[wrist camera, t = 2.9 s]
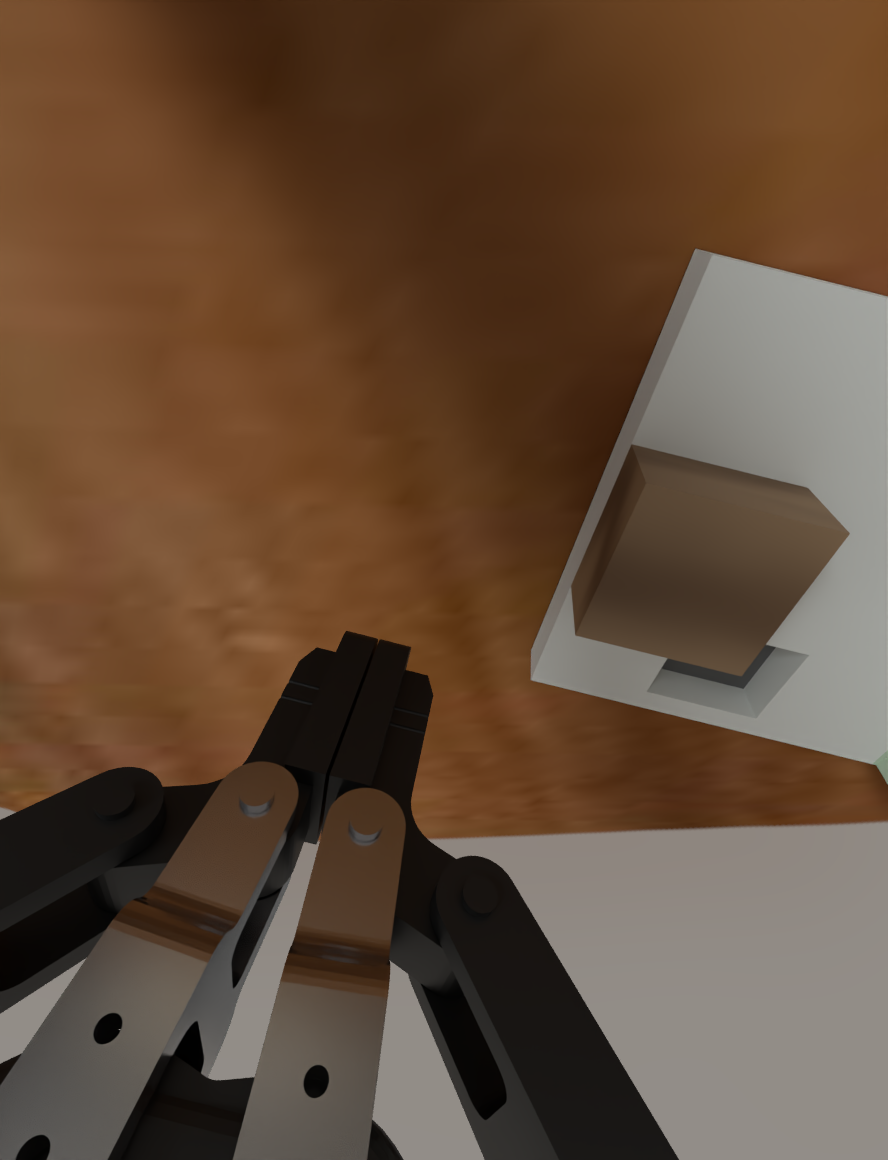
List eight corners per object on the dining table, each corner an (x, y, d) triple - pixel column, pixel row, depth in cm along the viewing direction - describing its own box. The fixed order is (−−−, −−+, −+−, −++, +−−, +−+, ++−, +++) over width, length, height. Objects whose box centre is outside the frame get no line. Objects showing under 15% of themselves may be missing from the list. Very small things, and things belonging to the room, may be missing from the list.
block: (631, 444, 18) (646, 482, 16) (807, 487, 18) (850, 533, 16) (570, 585, 21) (575, 635, 19) (718, 622, 21) (741, 676, 19)
